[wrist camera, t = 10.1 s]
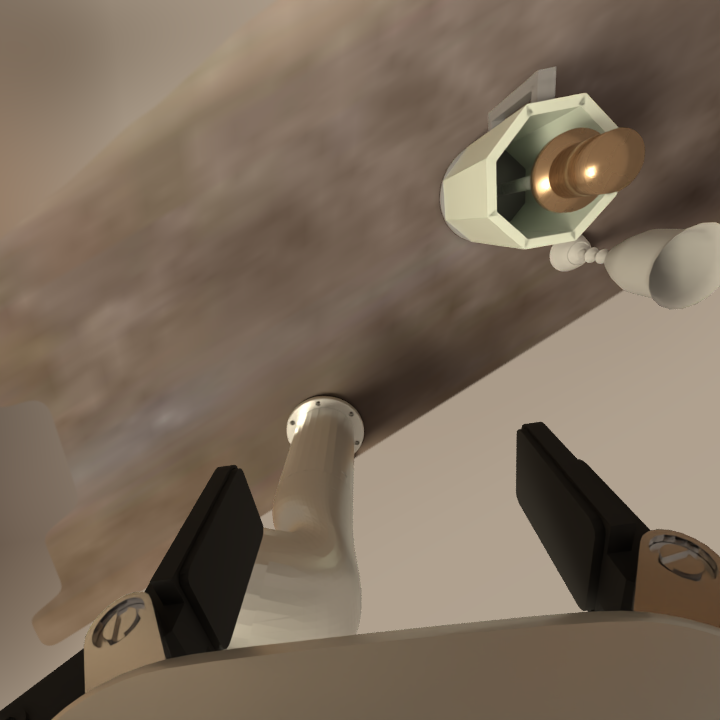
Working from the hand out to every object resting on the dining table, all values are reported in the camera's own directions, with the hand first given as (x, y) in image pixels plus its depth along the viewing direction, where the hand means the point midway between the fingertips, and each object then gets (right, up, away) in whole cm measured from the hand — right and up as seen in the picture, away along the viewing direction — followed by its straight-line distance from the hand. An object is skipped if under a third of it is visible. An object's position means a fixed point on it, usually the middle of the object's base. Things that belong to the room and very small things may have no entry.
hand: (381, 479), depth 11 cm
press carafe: (+15, +25, +31) cm, 43 cm away
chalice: (+28, +19, +34) cm, 48 cm away
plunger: (+15, +24, +30) cm, 41 cm away
